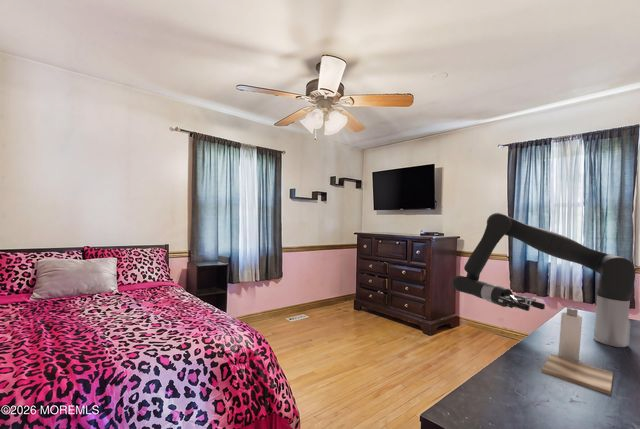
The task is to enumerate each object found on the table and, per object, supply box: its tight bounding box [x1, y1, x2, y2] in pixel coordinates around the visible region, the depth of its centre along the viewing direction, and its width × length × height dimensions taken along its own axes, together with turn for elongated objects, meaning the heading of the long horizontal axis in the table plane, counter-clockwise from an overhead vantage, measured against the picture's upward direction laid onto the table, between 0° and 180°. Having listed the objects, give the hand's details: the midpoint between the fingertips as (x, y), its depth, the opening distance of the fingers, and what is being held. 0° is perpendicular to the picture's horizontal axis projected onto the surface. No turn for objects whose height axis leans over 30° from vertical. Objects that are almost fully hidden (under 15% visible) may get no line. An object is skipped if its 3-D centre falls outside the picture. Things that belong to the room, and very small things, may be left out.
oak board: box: [541, 353, 614, 396], centre depth 93 cm, size 15×15×1 cm
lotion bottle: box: [557, 307, 583, 362], centre depth 105 cm, size 5×5×16 cm
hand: (536, 307), depth 115 cm, fingers open, 8 cm apart
